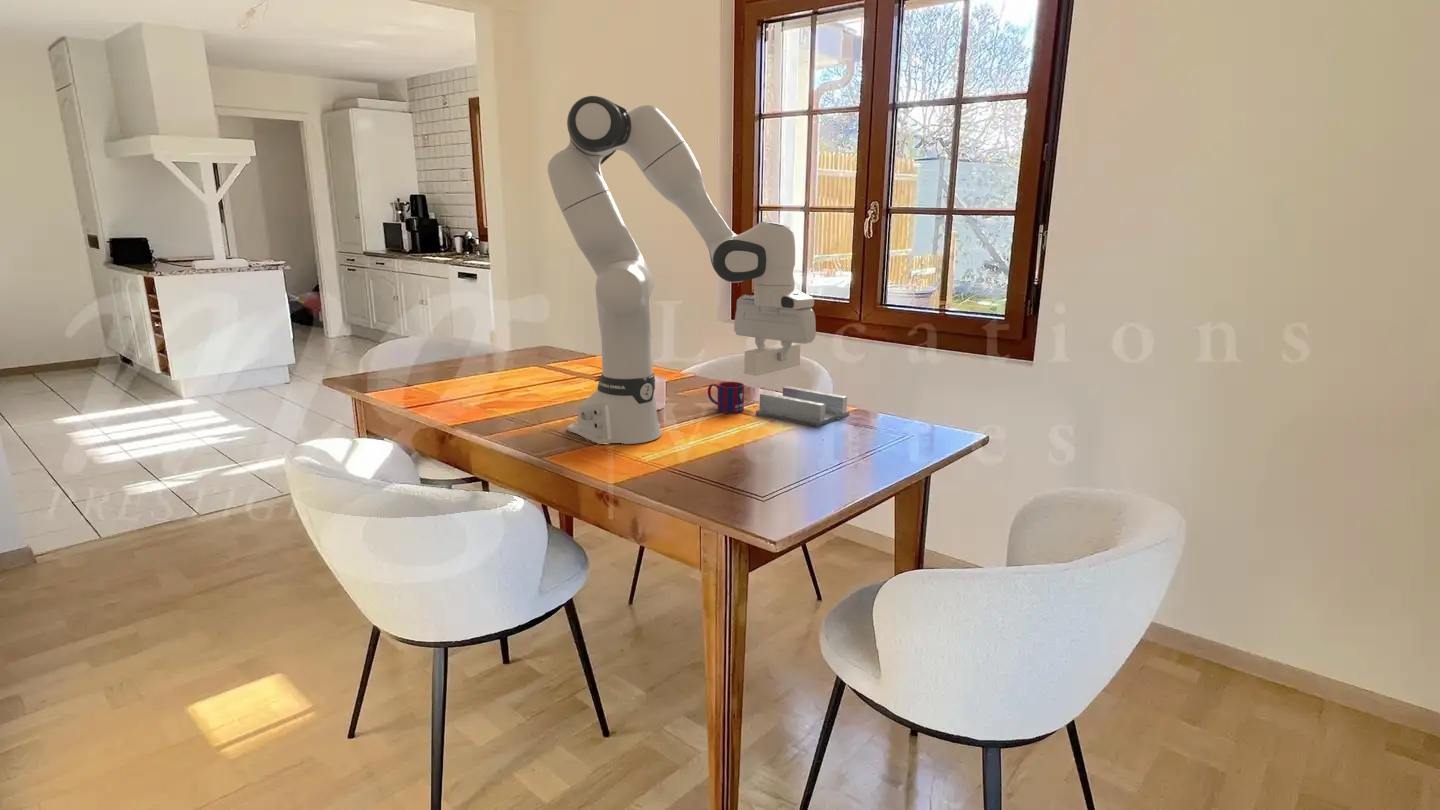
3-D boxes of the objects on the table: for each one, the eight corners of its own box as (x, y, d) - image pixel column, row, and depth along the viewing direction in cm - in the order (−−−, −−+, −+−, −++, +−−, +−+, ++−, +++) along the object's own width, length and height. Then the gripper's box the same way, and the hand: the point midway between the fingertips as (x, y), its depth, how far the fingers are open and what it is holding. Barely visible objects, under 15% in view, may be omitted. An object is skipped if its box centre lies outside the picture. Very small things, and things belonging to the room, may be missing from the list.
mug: (733, 415, 194) (733, 388, 193) (702, 409, 200) (702, 383, 199) (748, 410, 200) (749, 384, 198) (718, 404, 206) (718, 378, 204)
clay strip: (744, 373, 171) (744, 351, 169) (787, 363, 182) (787, 342, 181) (756, 376, 168) (757, 353, 167) (799, 365, 180) (800, 344, 179)
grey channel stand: (755, 414, 195) (756, 394, 194) (790, 403, 206) (790, 385, 205) (816, 427, 184) (817, 406, 183) (849, 414, 195) (850, 395, 194)
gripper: (728, 295, 176) (728, 355, 179) (804, 302, 163) (802, 367, 166) (745, 292, 180) (745, 351, 184) (820, 299, 167) (818, 362, 171)
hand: (772, 359), depth 175 cm, fingers closed on clay strip, 3 cm apart
